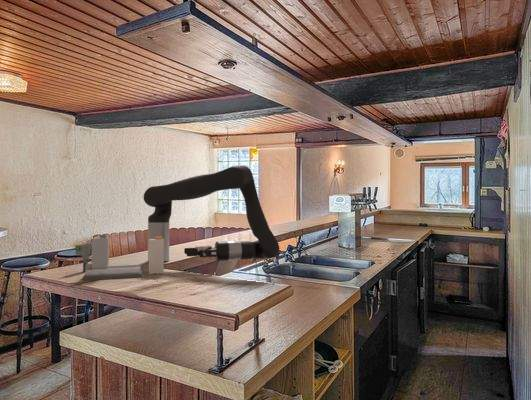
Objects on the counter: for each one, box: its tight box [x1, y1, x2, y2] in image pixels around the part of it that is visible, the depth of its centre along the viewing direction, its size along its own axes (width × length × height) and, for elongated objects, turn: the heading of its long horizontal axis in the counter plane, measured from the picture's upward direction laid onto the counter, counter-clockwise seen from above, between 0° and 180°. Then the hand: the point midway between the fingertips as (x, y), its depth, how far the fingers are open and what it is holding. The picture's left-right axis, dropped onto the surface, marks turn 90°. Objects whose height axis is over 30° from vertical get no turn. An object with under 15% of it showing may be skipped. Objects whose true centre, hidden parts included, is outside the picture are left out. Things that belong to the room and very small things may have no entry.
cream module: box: [148, 236, 165, 275], centre depth 139 cm, size 4×5×13 cm
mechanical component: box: [74, 242, 92, 272], centre depth 142 cm, size 3×10×10 cm, turn 174°
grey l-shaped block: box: [82, 234, 143, 281], centre depth 132 cm, size 12×18×14 cm, turn 108°
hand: (185, 252), depth 143 cm, fingers open, 8 cm apart
